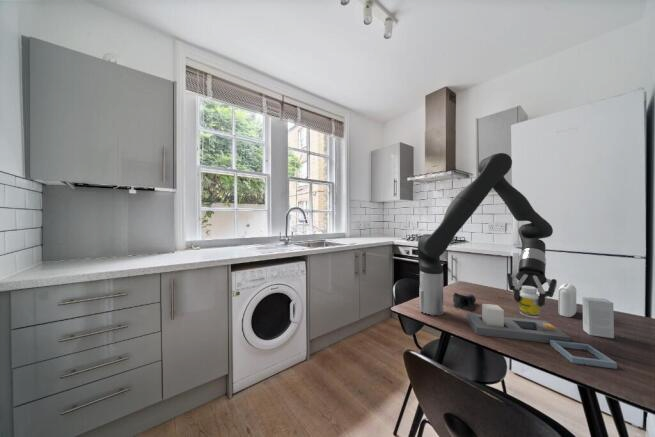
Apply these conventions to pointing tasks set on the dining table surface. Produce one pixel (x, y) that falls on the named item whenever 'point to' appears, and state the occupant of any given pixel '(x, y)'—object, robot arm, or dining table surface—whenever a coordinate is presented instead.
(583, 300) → the skincare box
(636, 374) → the dining table surface
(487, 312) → the socket strip
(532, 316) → the supplement bottle
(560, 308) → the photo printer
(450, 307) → the dining table surface
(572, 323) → the dining table surface
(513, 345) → the dining table surface
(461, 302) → the dark piece
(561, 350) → the blue-grey square frame
